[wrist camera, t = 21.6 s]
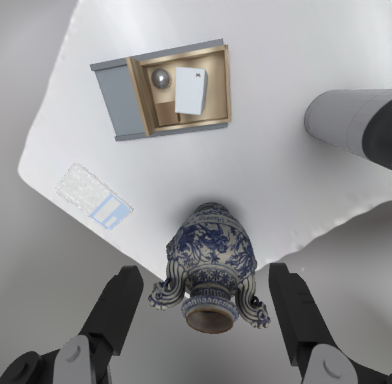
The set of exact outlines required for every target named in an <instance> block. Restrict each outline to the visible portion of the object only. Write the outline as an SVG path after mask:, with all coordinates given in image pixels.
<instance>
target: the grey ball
mask: <svg viewBox="0 0 392 384" xmlns="http://www.w3.org/2000/svg"><path fill="white" fill-rule="evenodd" d="M151 80H152V83H153V85H154V86H155V87H156V88H158V89H167V88H169V87H170V85H171V83H172V78H171V75H170V73H169V72H168V71H166V70H163V69H160V68H158V69H155V70H154V71H153V72H152V75H151Z"/></svg>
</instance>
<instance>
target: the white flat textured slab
mask: <svg viewBox="0 0 392 384" xmlns="http://www.w3.org/2000/svg"><path fill="white" fill-rule="evenodd" d="M92 181H93V182H92ZM101 191H102V192H101ZM55 192H56V193H57V194H58V195H60V196H61V197H62V198H64V199H65V200H67V201H68V202H69V203H71V204H72V205H73V206H75V207H76V208H78V209H79V210H80V211H82V212H83V213H84V214H86V215H87V216H89V217H90V218H91V219H93V220H94V221H95V222H97V223H98V224H100V225H101V226H102V227H104V228H105V229H107V230H112V229H113V228H114V227H115V226H116V225H118V224H119V223H120V222H121V221H122V220H123V219H124V218H125V217H127V216H128V215H129V214H130V213H131V212H132V211H133V207H132V206H131V205H130V204H129V203H128V202H126V201H125V200H124V199H123V198H121V197H120V196H119V195H118V194H117V193H115V192H114V191H113V190H112V189H110V188H109V187H108V186H107V185H106V184H104V183H103V182H102V181H101V180H99V179H98V178H97V177H96V176H95V175H93V174H92V173H91V172H90V171H88V170H87V169H86V168H85V167H84V166H82V165H81V164H79V163H75V164H73V165H72V166H71V168H70V169H69V170H68V172H67V173H66V174H65V176H64V177H63V178H62V180H61V181H60V183H59V184H58V185H57V187H56V188H55Z"/></svg>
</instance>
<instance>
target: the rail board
mask: <svg viewBox="0 0 392 384" xmlns="http://www.w3.org/2000/svg"><path fill="white" fill-rule="evenodd" d="M222 45H223V39H218V40H213V41H208V42H203V43H198V44H193V45H187V46H182V47H177V48H172V49H167V50H162V51H157V52H152V53H147V54H142V55H137V56H131V58H133V59H135V60H138V61H144V60H149V59H154V58H159V57H165V56H170V55H175V54H180V53H185V52H191V51H196V50H201V49H206V48H212V47H217V46H222ZM90 67H91V70H92V71H95V74H96V77H97V80H98V83H99V86H100V89H101V92H102V95H103V98H104V101H105V104H106V106H107V109H108V112H109V115H110V118H111V121H112V124H113V127H114V130H115V133H116V137H115V140H116V141H123V140H131V139H139V138H147V137H155V136H163V135H170V134H178V133H186V132H194V131H202V130H210V129H218V128H225V127H228V126H227V122H224V123H217V124H209V125H202V126H194V127H186V128H179V129H171V130H164V131H156V132H154V133H153V134H152V135H150V136H146V134H145V130H144V126H143V123H142V119H141V115H140V111H139V107H138V103H137V100H136V96H135V92H134V88H133V84H132V81H131V77H130V73H129V69H128V65H127V61H126V58H121V59H116V60H111V61H106V62H101V63H96V64H91V65H90Z"/></svg>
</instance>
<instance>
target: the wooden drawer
mask: <svg viewBox="0 0 392 384" xmlns="http://www.w3.org/2000/svg"><path fill="white" fill-rule="evenodd" d="M126 61H127V65H128V69H129V73H130V77H131V81H132V84H133V88H134V92H135V96H136V100H137V103H138V107H139V111H140V115H141V119H142V123H143V126H144V130H145V134H146V136H150V135H152V134H153V133H154V132H156V131H164V130H171V129H179V128H186V127H194V126H202V125H209V124H217V123H224V122H231V103H230V79H229V55H228V44H227V45H222V46H217V47H212V48H206V49H201V50H196V51H191V52H185V53H180V54H175V55H170V56H165V57H159V58H154V59H149V60H144V61H138V60H135V59H133V58H131V57H126ZM176 67H190V68H204V69H205V70H206V72H207V74H208V83H207V94H206V103H205V109H204V110H203V112H202V114H201V115H191V114H183V113H180V119H181V121H180V122H179V123H174V124H167V125H159V121H158V116H157V111H156V107H155V104H158V103H165V102H171V101H175V74H176ZM158 68H160V69H163V70H166V71H168V72H169V73H170V75H171V78H172V83H171V85H170V87H169V88H167V89H158V88H156V87H155V86H154V85H153V83H152V80H151V75H152V72H153V71H154V70H155V69H158Z"/></svg>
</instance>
